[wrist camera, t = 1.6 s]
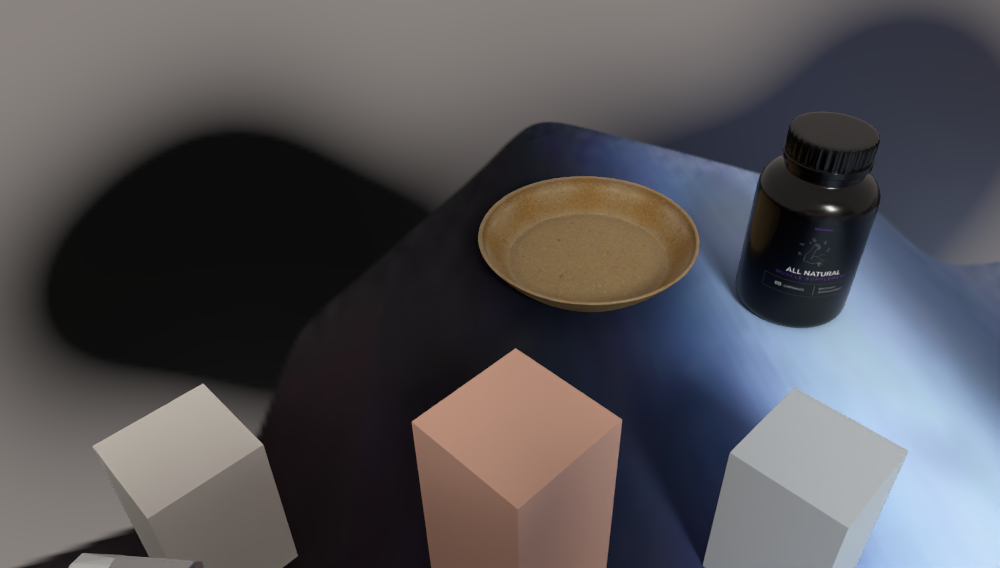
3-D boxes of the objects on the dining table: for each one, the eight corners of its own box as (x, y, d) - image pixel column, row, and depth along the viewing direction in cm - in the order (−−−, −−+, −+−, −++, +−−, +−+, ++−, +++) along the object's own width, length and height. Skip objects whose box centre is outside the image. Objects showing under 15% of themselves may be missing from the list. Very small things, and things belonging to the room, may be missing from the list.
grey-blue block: (760, 500, 40) (793, 387, 35) (857, 564, 37) (908, 451, 32) (702, 565, 37) (729, 452, 32) (801, 639, 34) (848, 528, 29)
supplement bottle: (787, 346, 48) (835, 173, 41) (712, 285, 53) (742, 119, 46) (868, 309, 51) (927, 139, 43) (789, 253, 55) (830, 92, 48)
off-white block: (242, 494, 41) (203, 383, 36) (298, 556, 38) (263, 444, 33) (149, 557, 38) (92, 446, 33) (201, 628, 35) (147, 519, 30)
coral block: (518, 550, 38) (515, 348, 30) (600, 621, 35) (622, 419, 27) (438, 622, 35) (411, 421, 27) (520, 705, 32) (517, 509, 24)
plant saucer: (656, 362, 48) (661, 329, 46) (440, 297, 53) (438, 265, 51) (718, 232, 58) (724, 202, 56) (532, 188, 63) (532, 159, 62)
